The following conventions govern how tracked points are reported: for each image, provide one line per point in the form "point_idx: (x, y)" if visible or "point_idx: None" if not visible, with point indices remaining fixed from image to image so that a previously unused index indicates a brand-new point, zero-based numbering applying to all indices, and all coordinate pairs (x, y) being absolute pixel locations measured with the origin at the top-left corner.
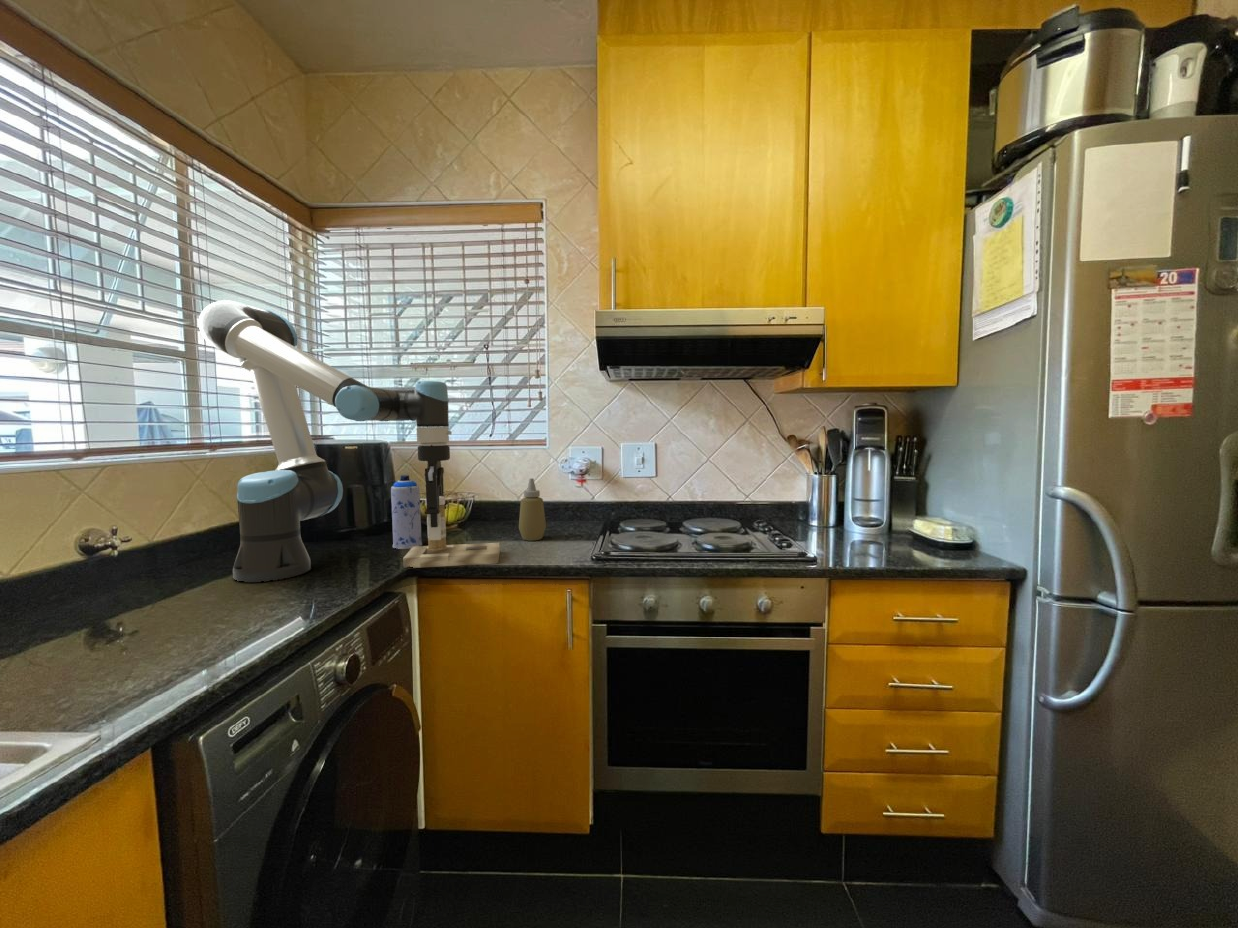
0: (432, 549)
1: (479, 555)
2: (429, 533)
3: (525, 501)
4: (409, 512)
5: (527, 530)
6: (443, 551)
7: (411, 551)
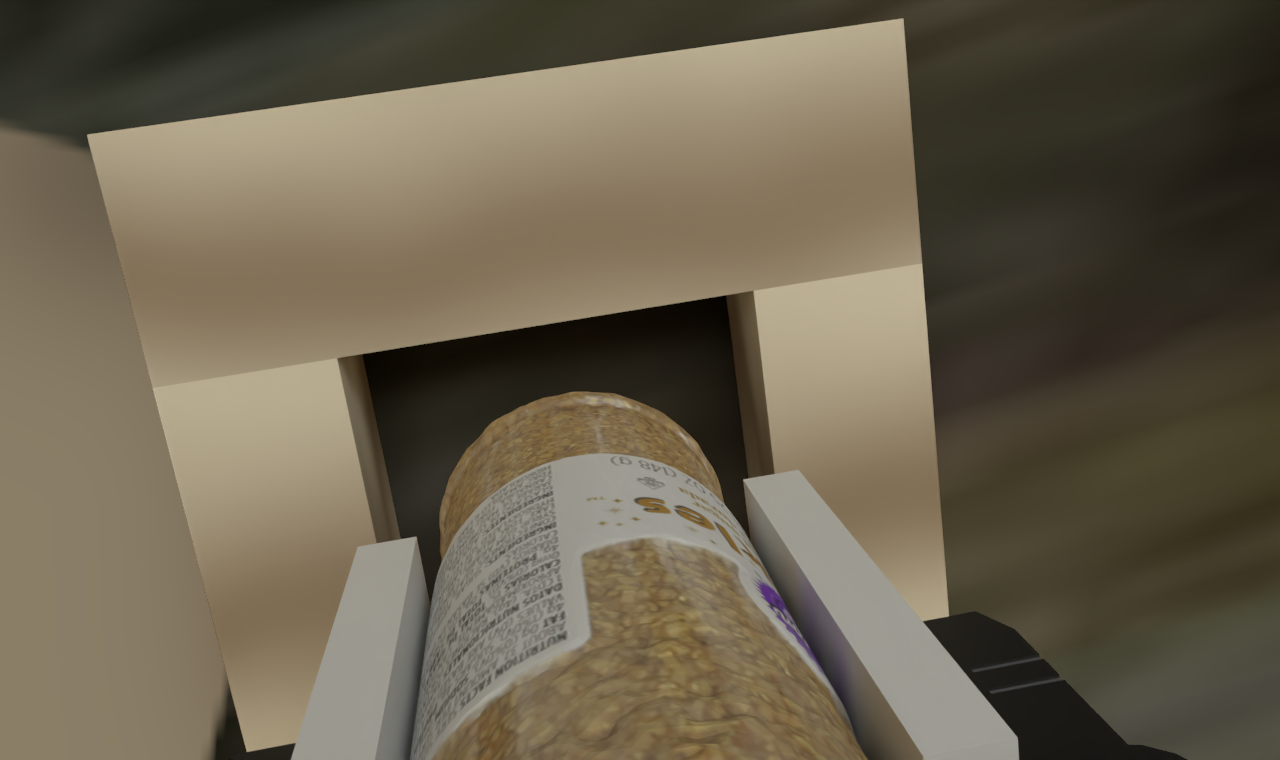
0: (445, 505)
1: None
2: (341, 612)
3: None
4: None
5: None
6: None
7: (554, 113)
